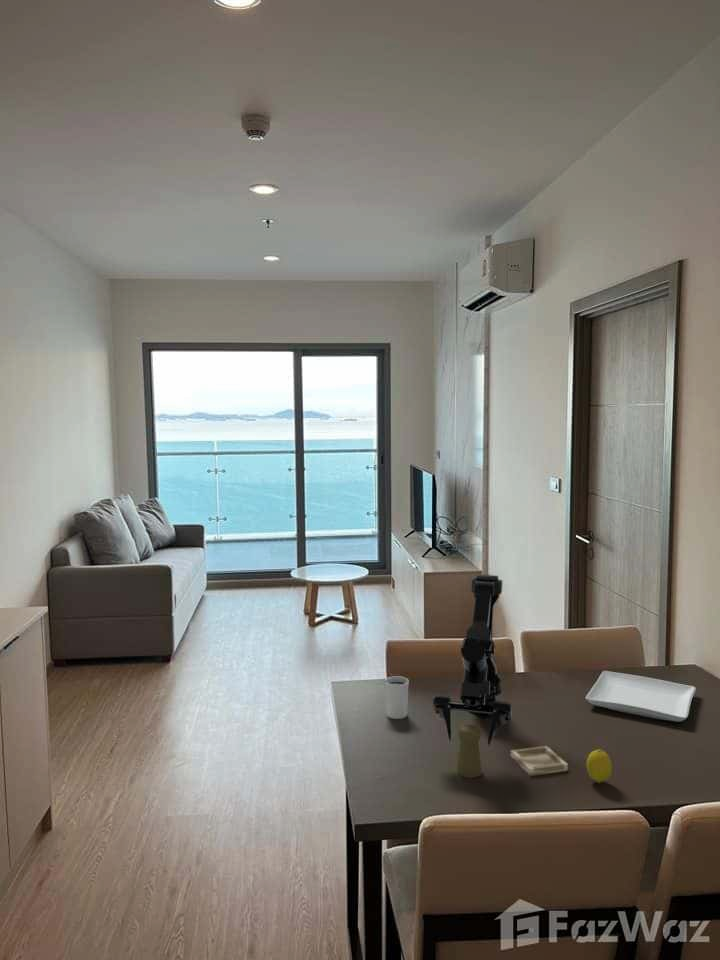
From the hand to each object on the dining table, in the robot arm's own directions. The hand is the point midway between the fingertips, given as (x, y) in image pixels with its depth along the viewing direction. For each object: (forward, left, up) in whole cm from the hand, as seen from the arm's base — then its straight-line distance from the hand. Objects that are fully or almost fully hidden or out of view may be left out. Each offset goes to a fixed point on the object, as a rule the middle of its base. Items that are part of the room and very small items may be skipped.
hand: (469, 742), depth 171 cm
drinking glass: (-36, +4, -8) cm, 37 cm away
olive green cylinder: (0, 0, -8) cm, 8 cm away
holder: (+6, +17, -7) cm, 20 cm away
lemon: (+20, +22, -8) cm, 31 cm away
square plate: (-5, +71, -8) cm, 72 cm away
